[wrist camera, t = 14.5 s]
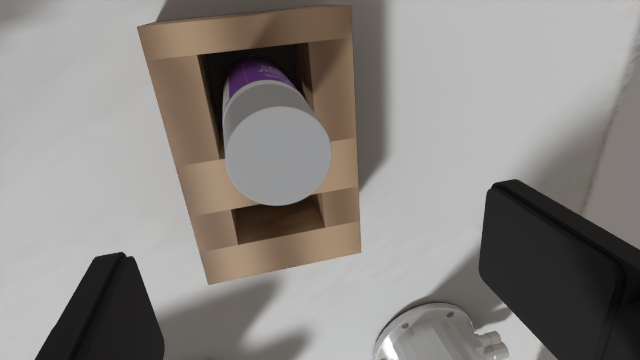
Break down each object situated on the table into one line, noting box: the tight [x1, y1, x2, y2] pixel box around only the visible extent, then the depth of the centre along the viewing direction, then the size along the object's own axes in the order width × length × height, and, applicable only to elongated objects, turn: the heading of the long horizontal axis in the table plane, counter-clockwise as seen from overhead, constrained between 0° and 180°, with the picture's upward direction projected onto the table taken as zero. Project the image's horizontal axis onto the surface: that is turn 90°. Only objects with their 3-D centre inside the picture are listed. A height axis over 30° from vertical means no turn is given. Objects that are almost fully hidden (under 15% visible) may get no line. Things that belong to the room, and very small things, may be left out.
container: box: [223, 55, 332, 206], centre depth 22 cm, size 5×5×15 cm
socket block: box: [137, 5, 361, 285], centre depth 28 cm, size 12×18×6 cm, turn 5°
